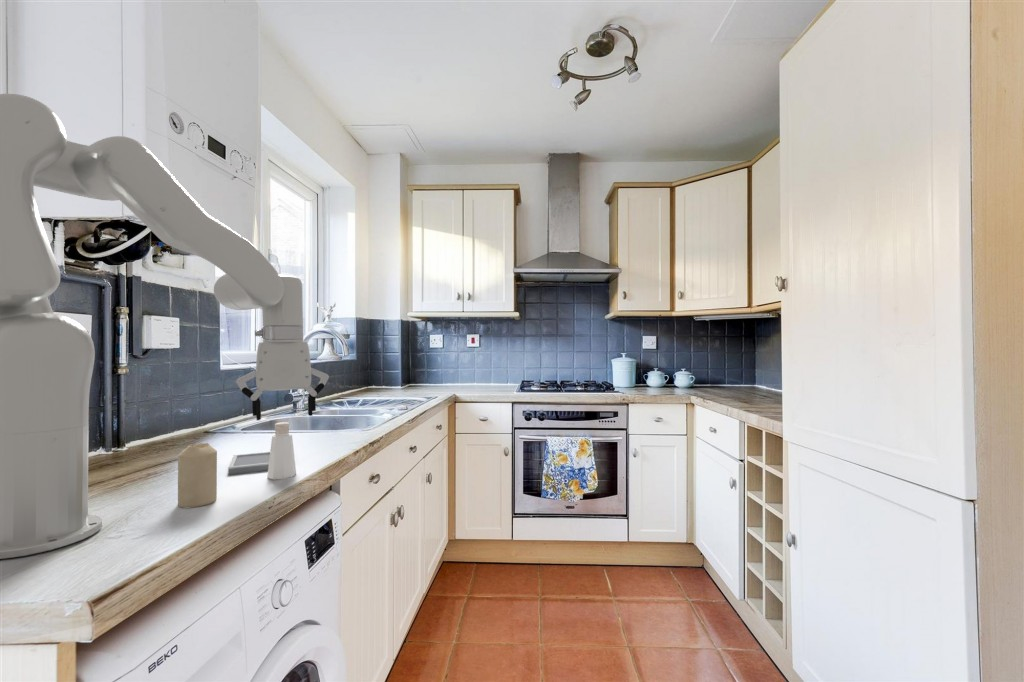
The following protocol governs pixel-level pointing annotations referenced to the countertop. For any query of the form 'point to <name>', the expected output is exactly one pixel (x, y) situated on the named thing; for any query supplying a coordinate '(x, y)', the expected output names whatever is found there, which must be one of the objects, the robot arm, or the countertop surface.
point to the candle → (197, 476)
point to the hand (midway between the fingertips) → (285, 416)
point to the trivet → (249, 463)
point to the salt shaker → (281, 453)
